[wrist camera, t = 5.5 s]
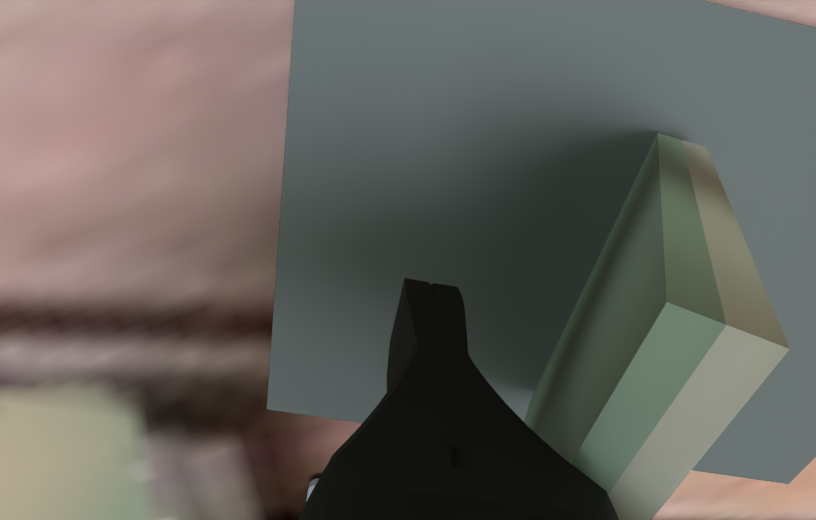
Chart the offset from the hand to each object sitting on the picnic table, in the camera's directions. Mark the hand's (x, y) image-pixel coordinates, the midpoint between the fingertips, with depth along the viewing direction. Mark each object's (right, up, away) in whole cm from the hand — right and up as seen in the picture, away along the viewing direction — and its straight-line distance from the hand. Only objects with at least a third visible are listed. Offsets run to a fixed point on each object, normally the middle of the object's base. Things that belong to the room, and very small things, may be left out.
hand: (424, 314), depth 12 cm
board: (+7, +1, +4) cm, 8 cm away
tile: (+3, -1, -1) cm, 4 cm away
